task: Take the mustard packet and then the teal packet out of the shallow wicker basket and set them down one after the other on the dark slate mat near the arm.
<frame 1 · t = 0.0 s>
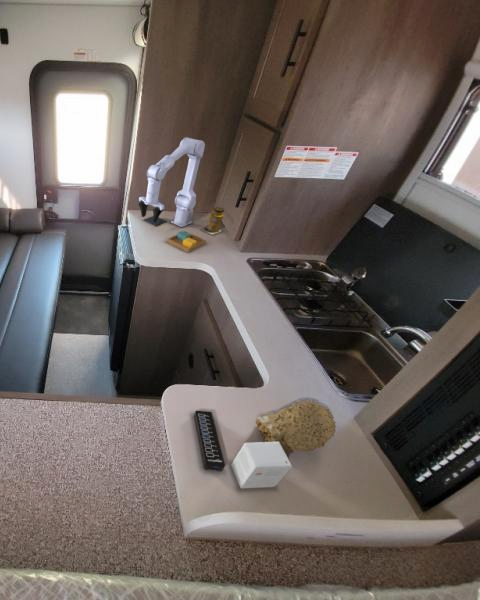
hand: (149, 219, 163), 10 cm above the worktop, tool pointing down, fingers open, 7 cm apart
condiment: (211, 230, 176), on the worktop
sponge: (292, 432, 85), on the worktop
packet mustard: (188, 245, 162), resting on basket
mat: (154, 221, 185), on the worktop
packet teal: (182, 239, 167), resting on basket
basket: (186, 243, 165), on the worktop
tool bit set: (206, 441, 83), on the worktop
small box: (251, 476, 76), on the worktop
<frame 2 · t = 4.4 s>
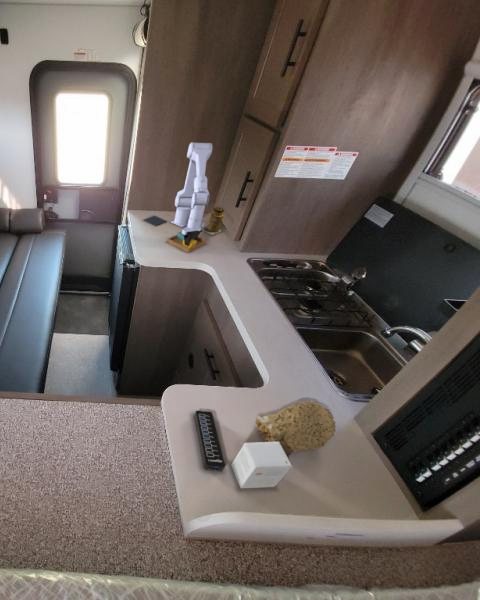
hand: (189, 243, 161), 2 cm above the worktop, tool pointing down, fingers closed on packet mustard, 4 cm apart
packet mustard: (188, 245, 162), resting on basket, touching gripper
everything else where it was.
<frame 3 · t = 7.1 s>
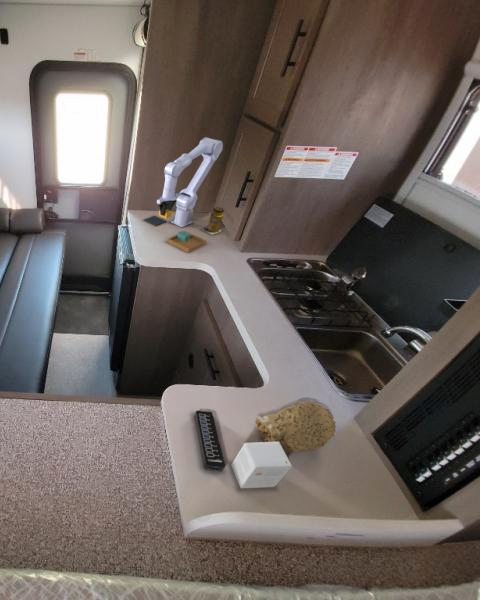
hand: (165, 213, 172), 8 cm above the worktop, tool pointing down, fingers closed on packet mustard, 4 cm apart
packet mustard: (164, 216, 173), point 7 cm above the worktop, touching gripper
everything else where it was.
when the fingers open (2 cm above the worktop, at t = 9.7 s): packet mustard stays where it is, resting on mat.
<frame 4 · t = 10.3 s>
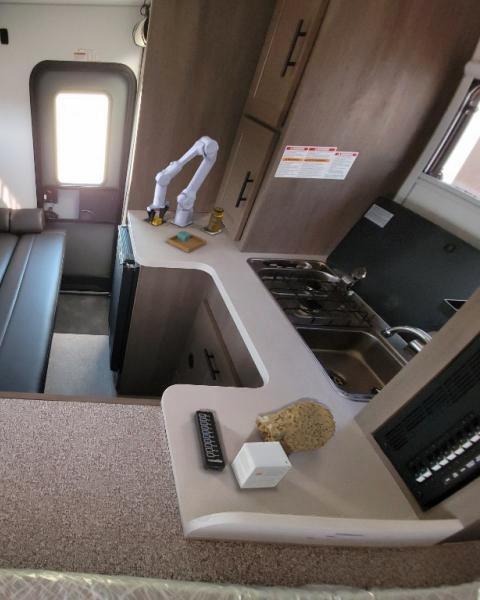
hand: (155, 220, 181), 2 cm above the worktop, tool pointing down, fingers open, 7 cm apart
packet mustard: (155, 223, 182), resting on mat
everything else where it was.
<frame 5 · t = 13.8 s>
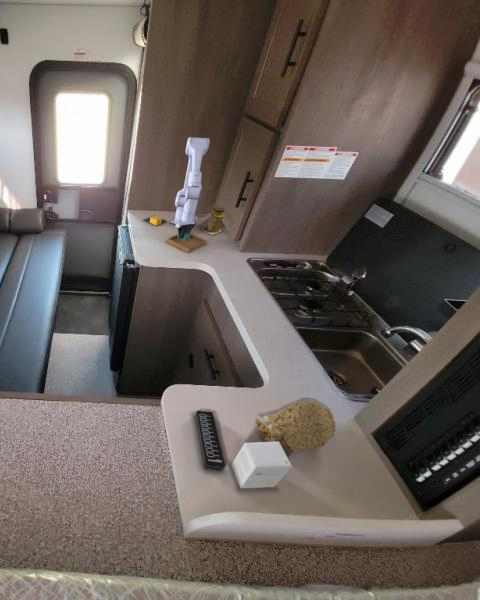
hand: (183, 236, 167), 2 cm above the worktop, tool pointing down, fingers closed on packet teal, 4 cm apart
packet teal: (183, 239, 167), resting on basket, touching gripper
everything else where it was.
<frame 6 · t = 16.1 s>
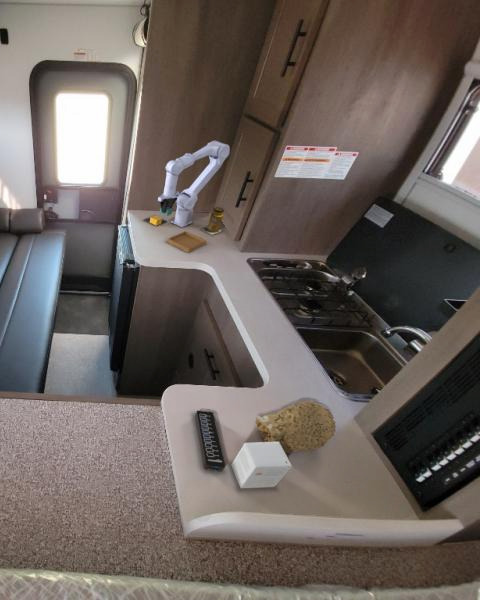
hand: (165, 211, 175), 8 cm above the worktop, tool pointing down, fingers closed on packet teal, 4 cm apart
packet teal: (165, 213, 176), point 7 cm above the worktop, touching gripper
everything else where it was.
when the fingers open (2 cm above the worktop, at t = 18.9 s): packet teal stays where it is, resting on mat.
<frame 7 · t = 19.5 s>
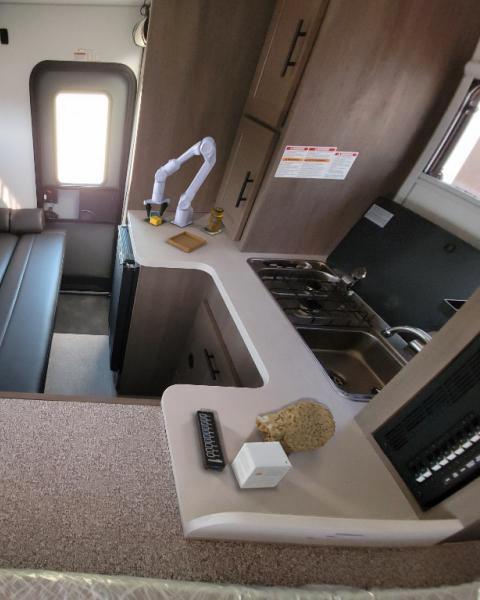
hand: (154, 215, 186), 2 cm above the worktop, tool pointing down, fingers open, 7 cm apart
packet teal: (154, 218, 187), resting on mat
everything else where it was.
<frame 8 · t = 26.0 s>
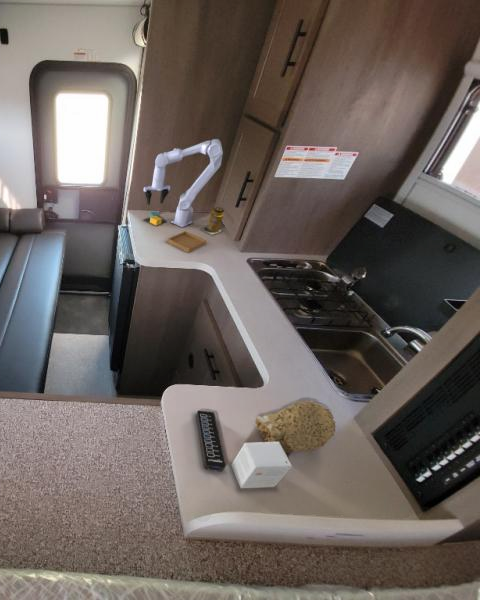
hand: (154, 203, 181), 9 cm above the worktop, tool pointing down, fingers open, 7 cm apart
nothing on the worktop moved.
at the end: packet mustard inside the target area on the mat (3.5 cm from its centre), point 0.4 cm above the mat's base; packet teal inside the target area on the mat (2.5 cm from its centre), point 0.4 cm above the mat's base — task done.
